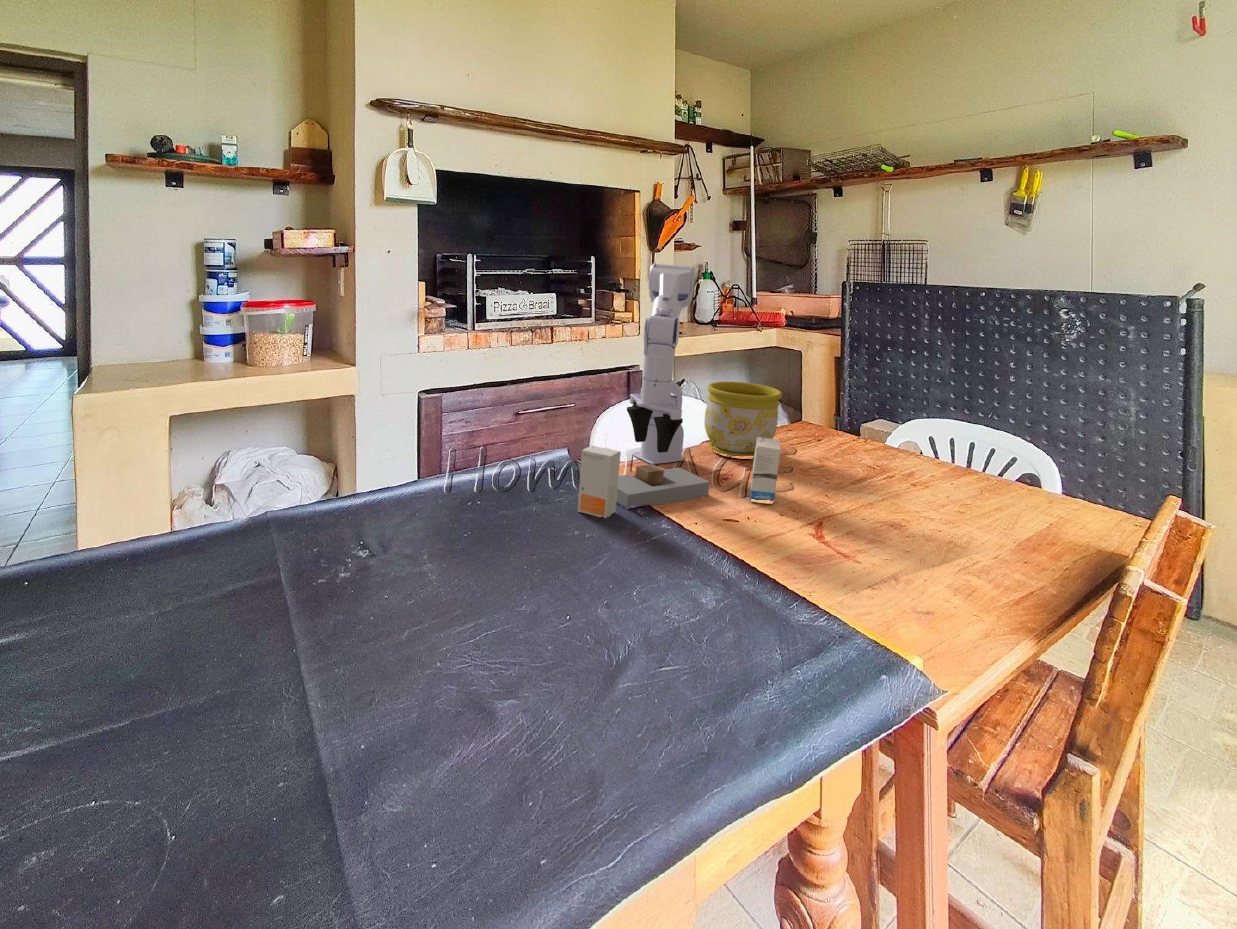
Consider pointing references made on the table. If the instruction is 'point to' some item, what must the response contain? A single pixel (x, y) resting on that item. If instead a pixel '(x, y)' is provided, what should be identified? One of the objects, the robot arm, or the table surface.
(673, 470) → the notched board
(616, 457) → the skincare box
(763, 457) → the ink box
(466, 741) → the table surface
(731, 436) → the flowerpot
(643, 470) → the block
